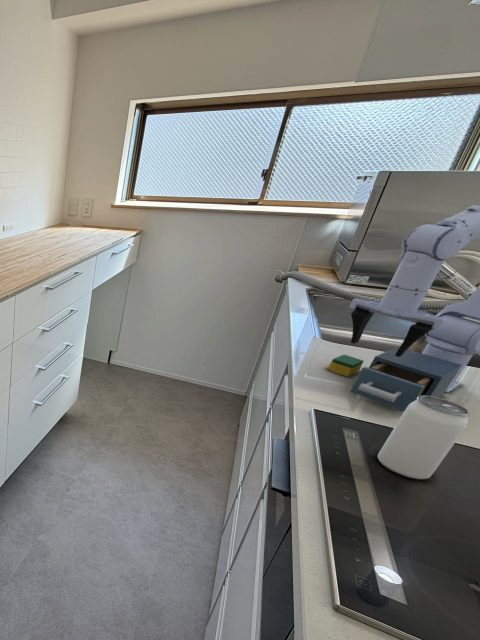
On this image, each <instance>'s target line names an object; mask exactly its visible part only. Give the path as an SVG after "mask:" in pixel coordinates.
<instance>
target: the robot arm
mask: <svg viewBox="0 0 480 640" xmlns="http://www.w3.org/2000/svg"><path fill="white" fill-rule="evenodd" d="M479 238H480V205H474V204H473V205H470V206H468V207H467V208H466V210H463V211H461V212H459V213H457V214H455V215H452V216H450V217H446V218H444V219H443V220H441V221H439V222H436V223H435V224H428V223H427V224H422V225H420V226H417V227H414V228H413V229H412V230H410V231H409V232H408V233H407V235H406V236H405V237H404V238H403V239H402V242H401V246H400V247H401V253H400V256H399V257H398V261H399V262H400V263H399V265H398V267H397V269H396V271H395V273H394V275H393V277H392V279H391V281H390V282H389V284H388V286H387V289H386V290H385V293H384V294H383V296H382V298H381V300H380V302H379V301H373V300H367V299H363V298H357V297H356V298H352V300H351V302H350V304H349V306H348V309H353V311H351V314H350V316H351V320H352V334H351V340H350V343H351V344H354V345H355V344H357V343H359V342H360V340H361V338H362V336H363V333H364V331H365V328H366V327H367V325H368V324H369V321H370V320H371V318H372V317H373V316H374V314H377V315H380V316H381V315H382V316H385V317H389V318H393V319H397V320H402V321H407V322H410V323H414V324H411V325H410V326H409V328H408V331H407V333H406V336H405V337H404V339H403V341H402V343H401V345H400V346H399V347H400V348H399V349H398V351H397V352H396V354H395V356H398V357H400V356H402V355H403V354H404V353H405V351H406V350H409V348H410V347H411V346H413V345H414V344H415V343H416V342H417V341H418V340H420V339H421V338H422V337H423V336H425V337H426V338H425V340H424V341H425V342H427V344H426V346H424V348H423V351H422V352H421V354H425V355H428V356H432V357H436V358H439V359H443V360H446V361H450V362H453V363H457V364H460V365H462V366H461V368H460V369H459V371H458V372H457V374H456V375H455V377H454V378H453V380H452V381H451V383H450V384H449V386H448V388H447V389H446V391H445V392H444V393H450V392H451V391H452V390H454V389H456V388H458V386H460V385H461V384H462V382H461V381H459V380H458V379H459V377H460V376H461V374H462V373H463V371H464V370H465V368H466V367H467V365H468V364H469V362H470V360H472V357H473V356H474V355H478V354H480V285H478V287H477V288H476V289H475V290H474V292H473V293H472V294H471V295H470V296H469V297H468V298H467V299H466V300H465V301H461V302H457V303H453V304H449V305H446V306H445V307H443V309H442V310H441V311H440V312H438V313H437V314H436V315H434V314H431V313H429V312H428V313H427V312H424V311H420V310H418V309H419V308H420V306H421V304H422V303H423V300H424V299H425V297H426V296H427V294H428V291H429V290H430V289H431V286H432V285H433V283H434V281H435V279H436V277H437V275H438V274H439V273H440V271H441V268H442V266H443V264H444V263H445V261H446V260H448V259H452V258H453V257H454V256H456V255H457V254H459V252H460V251H461V250H462V249H463V248H464V247H466V246H467V245H468V244H470V242H473V241H474V240H477V239H479Z"/></svg>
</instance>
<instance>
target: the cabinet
mask: <svg viewBox="0 0 480 640" xmlns="http://www.w3.org/2000/svg"><path fill="white" fill-rule="evenodd" d="M399 348H400V346H395V347H393V348H390V349H389V350H387V351H384V352H382V353H380V354H377V355H375V356H374V358H373V359H372V361H371V363H370V365H369V367H368V368H370V369H371V368H372V367H374V366H376V365H378V364H380V363H385V364H389V365H392V366H395V367H398V368H401V369H405V370H408V371H411V372H414V373H417V374H421V375H424V376H427V377H430V378H433V379H434V381H433V383H432V384H431V386H430V387H429V389H428V391H427V392H426V394H425V395H424V396H432V397H437V398H441V397H442V396H443V395H444V393H446V392H445V391H446V389H447V388H448V386H449V384H450V383H451V381H452V380H453V378H454V377H455V375H456V374H457V372H458V371H459V369H460V368H461V366H462V365H460V364H457V363H453V362H450V361H446V360H443V359H439V358H436V357H432V356H428V355H425V354H422V352H418V351H414V350H409V349H407V350H406V351H405V353H404V354H403V355H402V356H400V357H398V356H395V354H396V352H397V351H398V349H399Z"/></svg>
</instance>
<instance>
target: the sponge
mask: <svg viewBox="0 0 480 640" xmlns="http://www.w3.org/2000/svg"><path fill="white" fill-rule="evenodd" d="M363 363H364V360H363V359H359V358H356V357H354V356H351V355H348V354H341V355H339V356H336V357H334V358H332V360H331V362H330V364H329V366H328V368H327V370H328V371H330V372H333V373H336V374H338V375H341V376H345V377H350V376H352V375H354V374H356V373H358V372H359V371H360V370H361V367H362V365H363Z"/></svg>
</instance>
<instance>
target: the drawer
mask: <svg viewBox="0 0 480 640" xmlns="http://www.w3.org/2000/svg"><path fill="white" fill-rule="evenodd" d="M433 381H434V379H433V378H430V377H427V376H424V375H421V374H417V373H414V372H411V371H408V370H405V369H401V368H398V367H395V366H392V365H389V364H385V363H380V364H378V365H376V366H374V367H372V368H371V369H370V368H369V367H367V366H363V367H362V368H361V369H360V372H359V374H358V375H357V378H356V379H355V381H354V383H353V385H352V387H351V389H350V390H349V392H350V393H352V394H355V395H358V396H360V397H363V398H366V399H368V400H371V401H374V402H377V403H380V404H382V405H385V406H387V407H389V408H392V409H396V410H398V411H399V412H403V413H404V411H405V410H406V408H407V407H408V405H409V404H410V403H412V402H414V401H415V400H417V397H419V396H424V395H425V394H426V392H427V391H428V389H429V387H430V386H431V384H432V383H433Z"/></svg>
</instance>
